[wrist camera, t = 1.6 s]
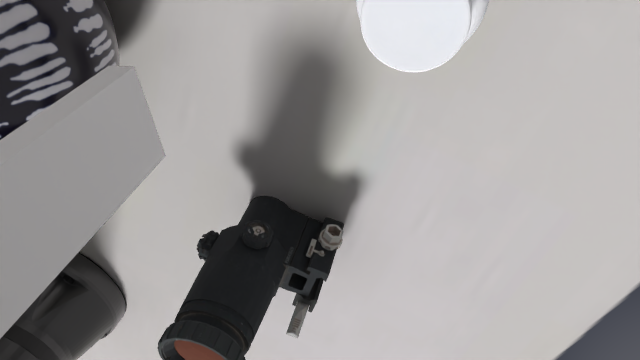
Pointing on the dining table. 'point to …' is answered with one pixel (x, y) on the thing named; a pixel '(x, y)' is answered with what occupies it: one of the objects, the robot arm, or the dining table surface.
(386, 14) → the pill bottle
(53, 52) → the vase
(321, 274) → the scope
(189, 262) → the dining table surface
